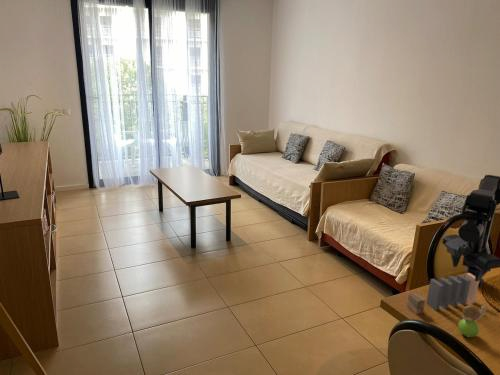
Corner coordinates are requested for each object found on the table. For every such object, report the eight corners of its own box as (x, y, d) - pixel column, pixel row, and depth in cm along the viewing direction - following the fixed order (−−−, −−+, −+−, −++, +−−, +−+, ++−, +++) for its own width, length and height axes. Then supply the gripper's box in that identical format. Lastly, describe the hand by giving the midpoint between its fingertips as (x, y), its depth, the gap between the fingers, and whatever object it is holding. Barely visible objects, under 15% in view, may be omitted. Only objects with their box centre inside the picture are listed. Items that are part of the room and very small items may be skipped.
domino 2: (438, 300, 133) (443, 277, 130) (447, 308, 129) (452, 283, 126) (435, 301, 133) (439, 277, 130) (444, 308, 129) (449, 284, 126)
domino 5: (464, 296, 136) (469, 272, 133) (474, 303, 132) (479, 279, 129) (461, 296, 136) (466, 273, 133) (471, 303, 132) (476, 279, 129)
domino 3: (447, 299, 134) (451, 275, 131) (456, 306, 130) (461, 282, 127) (444, 299, 134) (448, 276, 131) (453, 307, 130) (458, 282, 127)
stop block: (414, 305, 130) (416, 292, 129) (423, 312, 126) (425, 300, 125) (406, 306, 130) (408, 294, 128) (415, 314, 126) (417, 301, 124)
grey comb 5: (429, 302, 132) (433, 278, 129) (438, 309, 128) (443, 285, 125) (426, 303, 132) (430, 279, 129) (435, 310, 128) (440, 286, 125)
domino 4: (455, 297, 135) (460, 274, 132) (465, 304, 131) (470, 280, 128) (452, 298, 135) (457, 274, 132) (462, 305, 131) (467, 281, 128)
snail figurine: (483, 342, 113) (491, 308, 109) (460, 339, 114) (467, 305, 110) (476, 331, 118) (484, 297, 114) (454, 328, 119) (461, 295, 116)
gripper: (432, 222, 127) (425, 263, 132) (477, 247, 110) (467, 293, 115) (459, 218, 130) (452, 258, 135) (507, 242, 113) (497, 287, 118)
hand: (465, 273), depth 126 cm, fingers open, 9 cm apart
